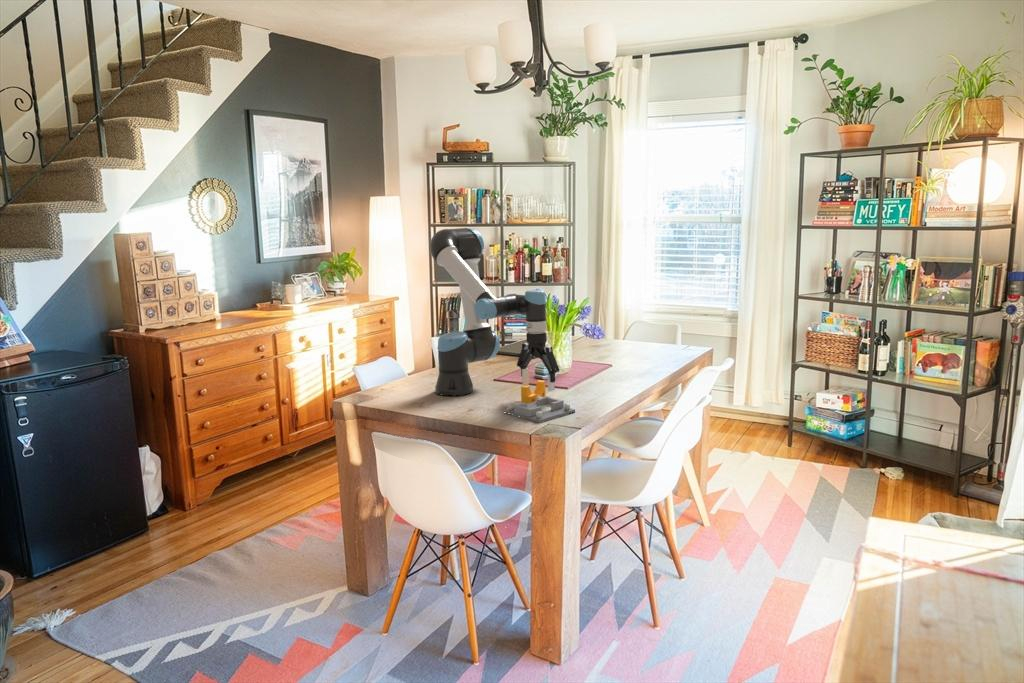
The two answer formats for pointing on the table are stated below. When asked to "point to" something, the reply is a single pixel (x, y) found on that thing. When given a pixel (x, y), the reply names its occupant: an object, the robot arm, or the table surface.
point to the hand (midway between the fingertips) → (538, 388)
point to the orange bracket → (538, 392)
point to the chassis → (540, 409)
